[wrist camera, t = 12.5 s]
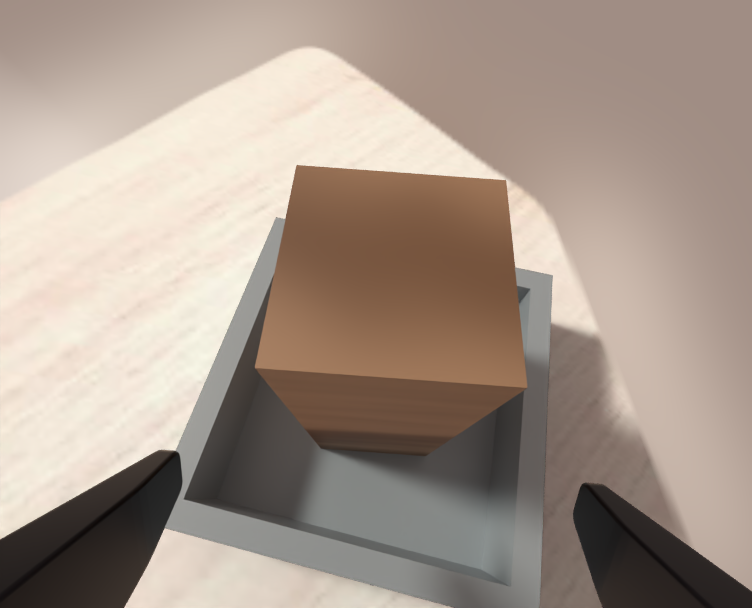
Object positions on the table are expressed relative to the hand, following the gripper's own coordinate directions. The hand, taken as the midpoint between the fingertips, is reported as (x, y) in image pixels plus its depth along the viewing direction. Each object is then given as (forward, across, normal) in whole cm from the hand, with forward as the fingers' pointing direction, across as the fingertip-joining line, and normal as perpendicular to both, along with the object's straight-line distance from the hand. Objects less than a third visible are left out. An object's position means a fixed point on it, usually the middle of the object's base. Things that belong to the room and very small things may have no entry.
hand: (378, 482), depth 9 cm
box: (+11, 0, +5) cm, 12 cm away
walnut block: (+10, 0, +4) cm, 11 cm away
